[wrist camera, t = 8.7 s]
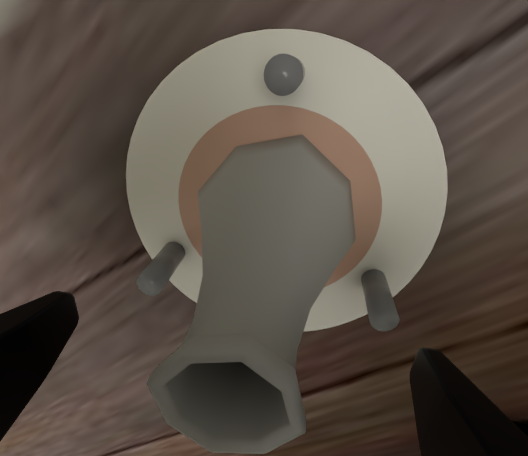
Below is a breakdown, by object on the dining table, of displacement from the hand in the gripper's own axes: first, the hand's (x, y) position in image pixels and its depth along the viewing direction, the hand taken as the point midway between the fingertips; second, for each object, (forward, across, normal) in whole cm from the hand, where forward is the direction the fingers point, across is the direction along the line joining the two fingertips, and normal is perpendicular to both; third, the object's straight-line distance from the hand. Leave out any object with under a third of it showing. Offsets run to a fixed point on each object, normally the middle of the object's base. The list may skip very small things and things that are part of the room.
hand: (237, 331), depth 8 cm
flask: (+8, 0, 0) cm, 8 cm away
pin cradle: (+9, 0, 0) cm, 9 cm away
